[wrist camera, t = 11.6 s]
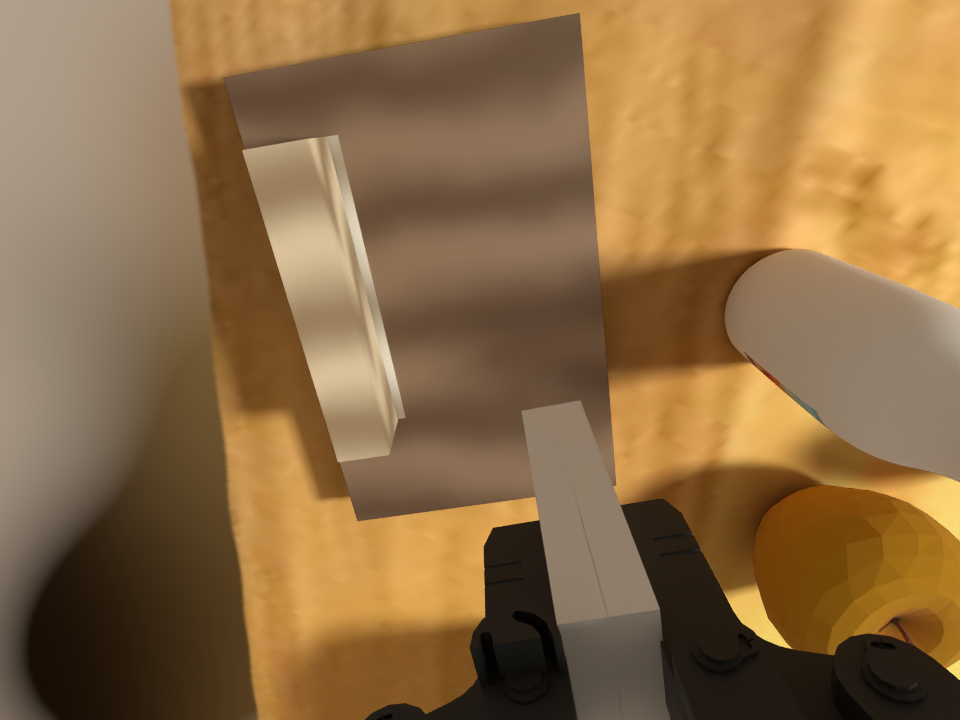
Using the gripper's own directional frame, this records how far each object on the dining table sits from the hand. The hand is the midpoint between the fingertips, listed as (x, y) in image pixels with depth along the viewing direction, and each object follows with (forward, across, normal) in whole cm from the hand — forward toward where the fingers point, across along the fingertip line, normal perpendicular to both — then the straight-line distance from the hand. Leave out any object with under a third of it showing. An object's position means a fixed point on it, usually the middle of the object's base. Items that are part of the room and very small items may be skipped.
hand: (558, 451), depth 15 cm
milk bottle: (+23, -17, +7) cm, 29 cm away
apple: (+23, -19, +25) cm, 39 cm away
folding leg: (+19, +10, 0) cm, 22 cm away
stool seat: (+22, +4, +2) cm, 23 cm away
